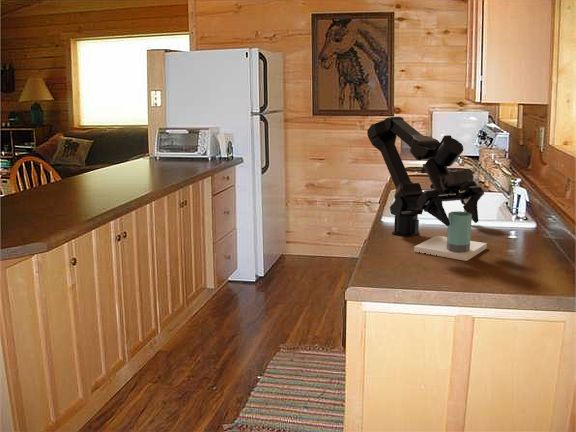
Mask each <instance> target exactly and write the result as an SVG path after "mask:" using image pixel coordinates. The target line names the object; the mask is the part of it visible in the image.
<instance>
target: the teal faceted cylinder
mask: <svg viewBox="0 0 576 432" xmlns="http://www.w3.org/2000/svg"><path fill="white" fill-rule="evenodd" d="M447 217H448V219H449V222H450V225H449V226H447V233H446V235H447V236H446V237H447V250H449V251H452V252H457V253H461V252H468V251H470V241H471V235H472V234H471V233H472V221H473V220H472V214H470V213H468V212H464V211H450V212H448V215H447Z"/></svg>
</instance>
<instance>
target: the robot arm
mask: <svg viewBox="0 0 576 432" xmlns="http://www.w3.org/2000/svg"><path fill="white" fill-rule="evenodd" d="M366 135H367V137H368V139H369V142H370V143H371V144H372V146H373V147H374V148H375V149H377V150H378V151H379V152H380V153H381V156H382V158H383V160H384V163H385V166H386V167H387V171H388V172H389V175H390V178H391V179H392V182H393V184H394V186H395V187H394V188H395V192H394V196H393V198H394V201H393V202H392V204H391V205H390V207H389V211H390V214H391V215H393V216H394V228H393V229H394V230H393V231H391V234H392V235H396V236H402V237H410V238H412V237H413V236H415V235H418V234H420V231H419V224H420V220H419V218H418V215H422V214H423V212H425V213H428V214H430V215H431V216H433V217H434V218H436V220H438V221H439V222H441V223H442V224H444V225H445V226H447V227H448V226H449V225H450V222H449V219H448V215H447V213H446V211H445V208H444V206H443V202H455V201H460V203H461V204H462V205H463V206H462V208H463V210H464V209H465V211H466V212H468V213H470V214H472V221H473V222H474V224H477V223H478V222H479V212H478V202H479V200H480V199H481V198H482V197H483V196H484V195H485V192H484V190H483V188H482V186H479V185H477V186H474V187H468V188H467V189H466V190H465V191H464V192H463V193H459V190H461V189H462V188H463V186H462V185H463V184H466V183H469V182H470V180H473V181H474V173H473V171H472V170H471V169H470V168H464V169H463V170H458V171H453V172H450V170H449V168H448V167H451V166H453V164H455V162H456V161H457V159H458V158H459V157H460V156H461V155H462V153H463V152H464V146H463V143H461V142H460V141H458V140H457V139H455V138H453V137H452V136H451V135H448V134H447V135H444V136H443V137H442V139H441V141H440V140H438V139H436V138H434V137H431V136H428V135H424V134H422V133H420V131H418V130H417V129H416V128H414V127H413V126H412V125H410V124H409V123H408V122H407V121H405V119H404V118H403V117H402V116H388V117H386V118H384V120H380V121H379V122H376V123H373V124H371V125H370V126H369V127H368V129H367V132H366ZM397 138H399V139H400V140H401V141H403V143H405V144H406V145H407V146H408V147H409V153H411V155H412V156H413V158H415V160H417V161H426V162H425V163H423V164H422V167H421V170H420V173H421V174H427V176H428V179H429V181H430V183H431V184H430V185H429V188H430V190H424V191H423V189H422V187H421V184H420V182H413V181H411V179H410V176H409V174H408V171H407V169H406V167H405V165H404V163H403V160H402V158H401V155H400V153H399V151H398V149H397V146H396V140H397Z"/></svg>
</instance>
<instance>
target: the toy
mask: <svg viewBox="0 0 576 432" xmlns="http://www.w3.org/2000/svg"><path fill="white" fill-rule="evenodd" d="M462 186H463V188H462V189H461V190H459V193H463V192H464V191H465V190H466V189H467V188H468V187H474V186H478V184H477V183H476V181H475V180H474V179H473V180H470V182H469V183H466V184H463V185H462ZM463 212H466V211H465V209H464V208H463Z"/></svg>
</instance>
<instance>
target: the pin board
mask: <svg viewBox="0 0 576 432" xmlns="http://www.w3.org/2000/svg"><path fill="white" fill-rule="evenodd" d="M487 244H488V243H487V242H480V241H474V240H470V251H468V252H461V253H457V252H452V251H449V250H447V236H443V235H442V236H441V235H435V236H433V237H431V238H429V239H426V240H424V241H422V242H421V243H419V244H417V245H414V247H413V248H414V250H413V251H414V253H419V252H420V253H419V254H424V253H426V254H425V255H430V254H431V256H436V255H437V257H442V258H449V259H454V260H459V261H463V262H464V261H466V262H467V261H469V260H470V259H472V258H474V257H475V256H477V255H479V254H480V253H482V252H483V251H485V250H486V249H487V247H488V246H487Z"/></svg>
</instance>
